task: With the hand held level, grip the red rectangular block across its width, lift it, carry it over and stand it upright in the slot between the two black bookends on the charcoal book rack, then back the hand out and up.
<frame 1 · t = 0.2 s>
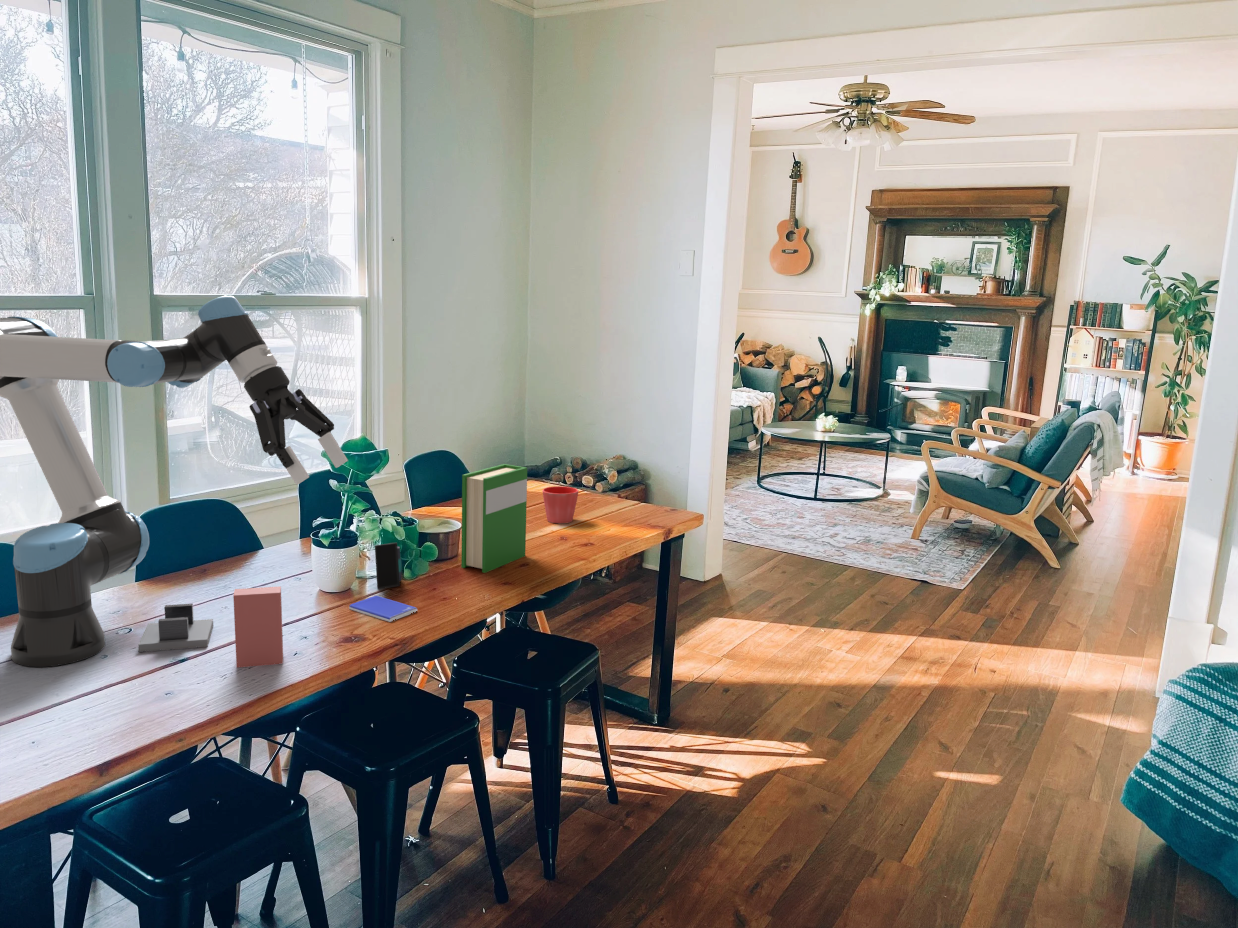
hand: (323, 472, 172), 36 cm above the table, tool tilted 35°, fingers open, 13 cm apart
speaker: (386, 583, 219), on the table
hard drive: (383, 613, 202), on the table
book rack: (177, 638, 182), on the table
flower pot: (559, 521, 282), on the table
hardback book: (494, 562, 239), on the table
red rectangular block: (260, 661, 173), on the table
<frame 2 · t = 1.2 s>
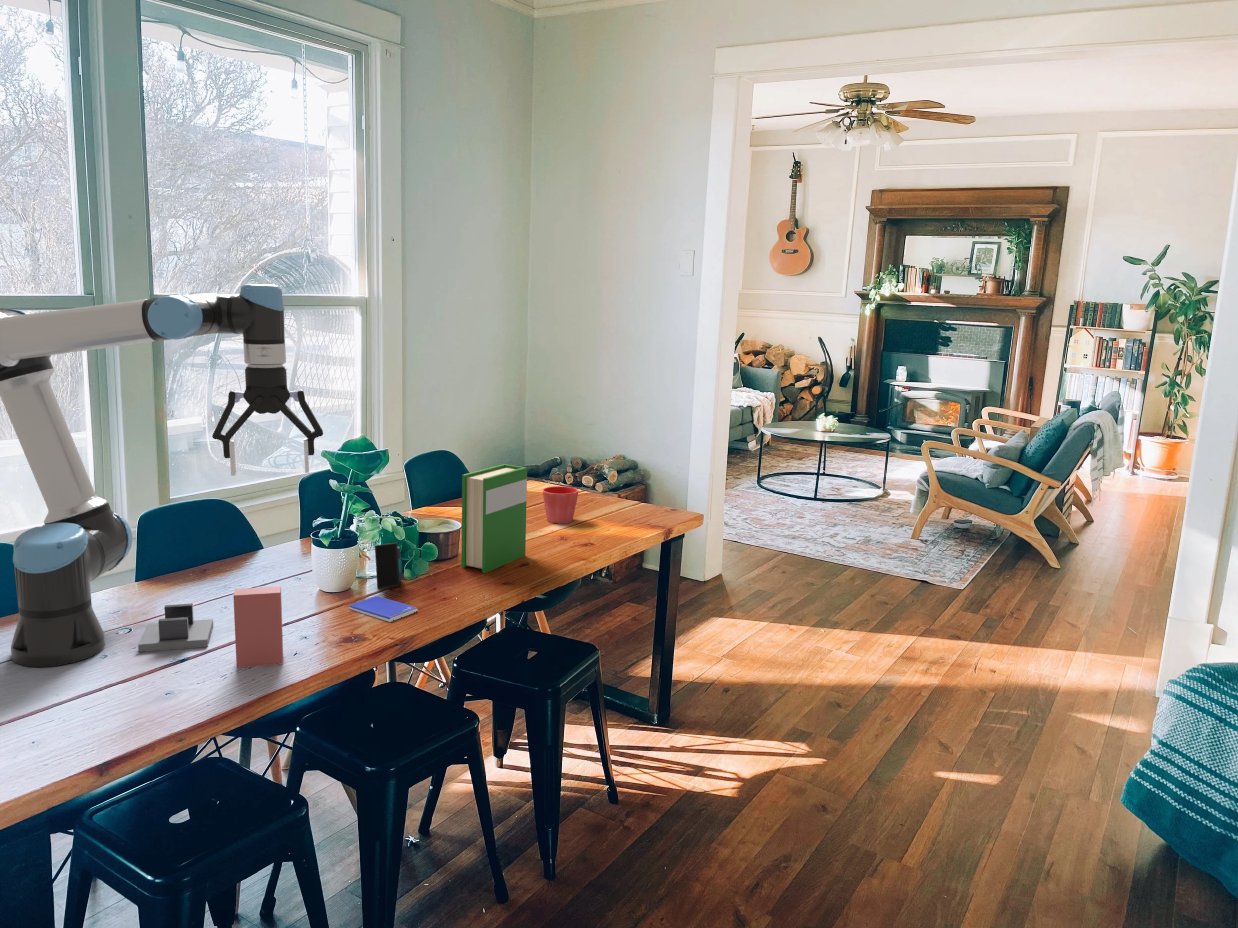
hand: (270, 473, 182), 33 cm above the table, tool pointing down, fingers open, 13 cm apart
nothing on the table moved.
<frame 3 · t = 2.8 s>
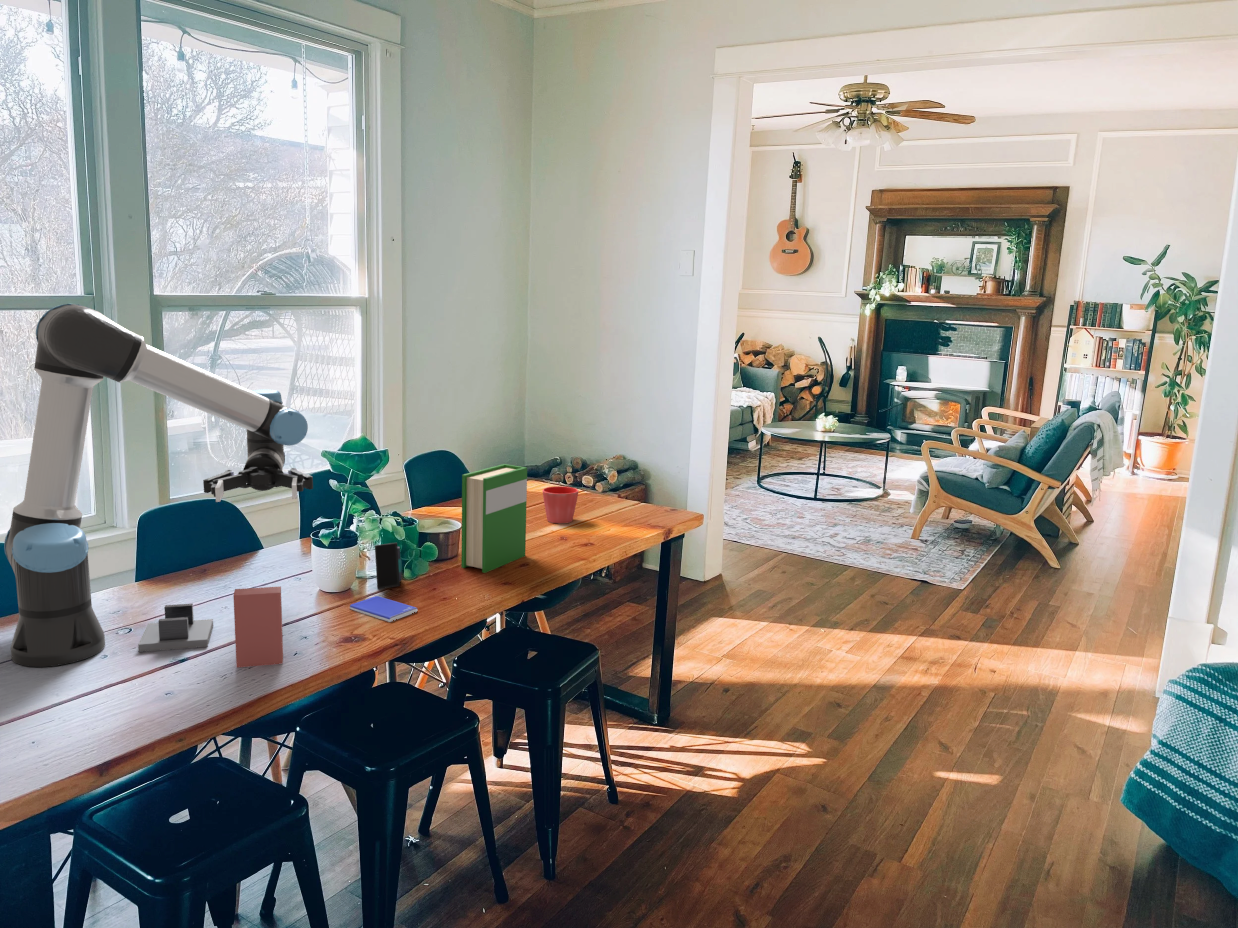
hand: (256, 493, 175), 30 cm above the table, tool horizontal, fingers open, 13 cm apart
nothing on the table moved.
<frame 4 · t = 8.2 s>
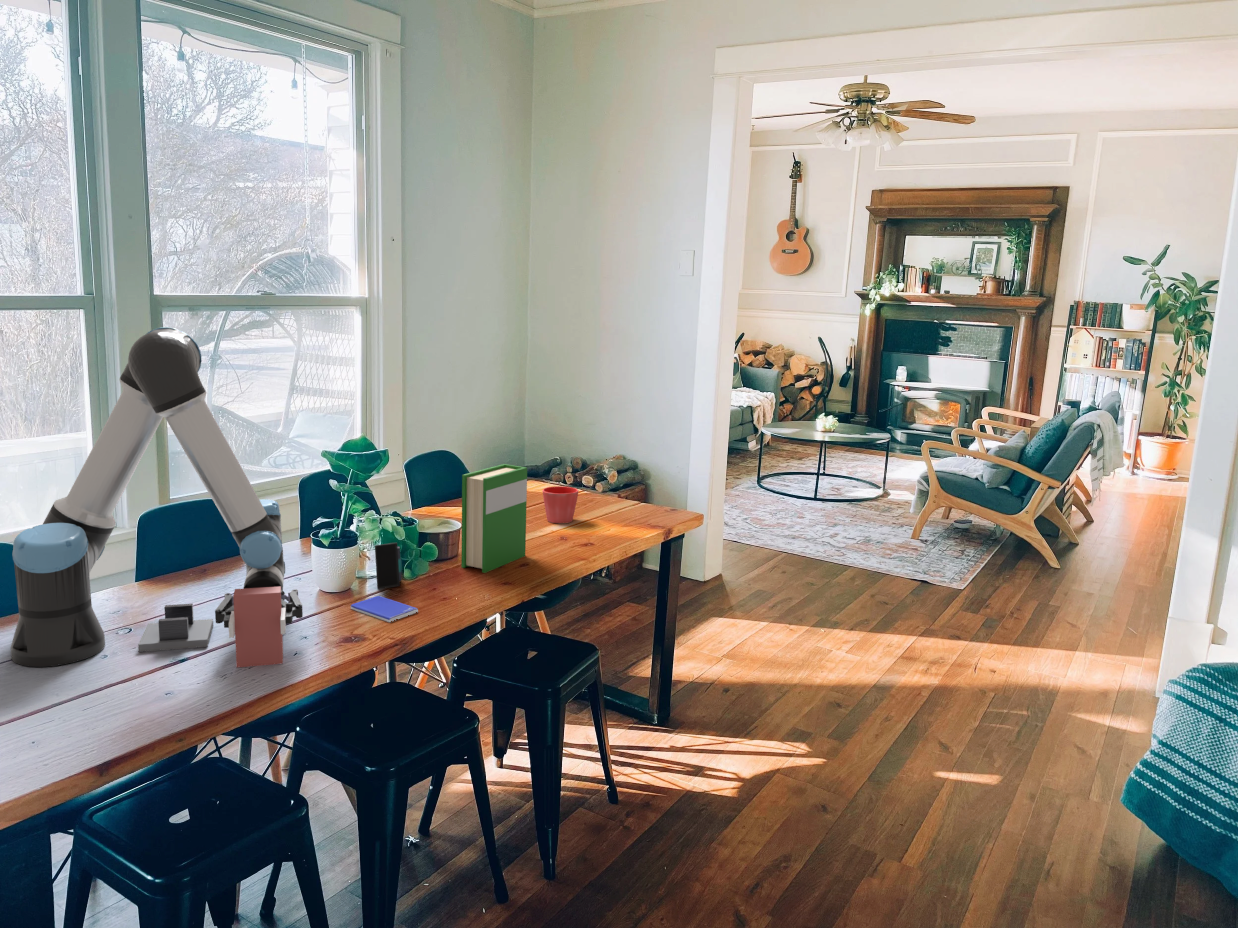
hand: (257, 628, 167), 8 cm above the table, tool horizontal, fingers closed on red rectangular block, 8 cm apart
red rectangular block: (260, 661, 173), on the table, touching gripper
everything else where it was.
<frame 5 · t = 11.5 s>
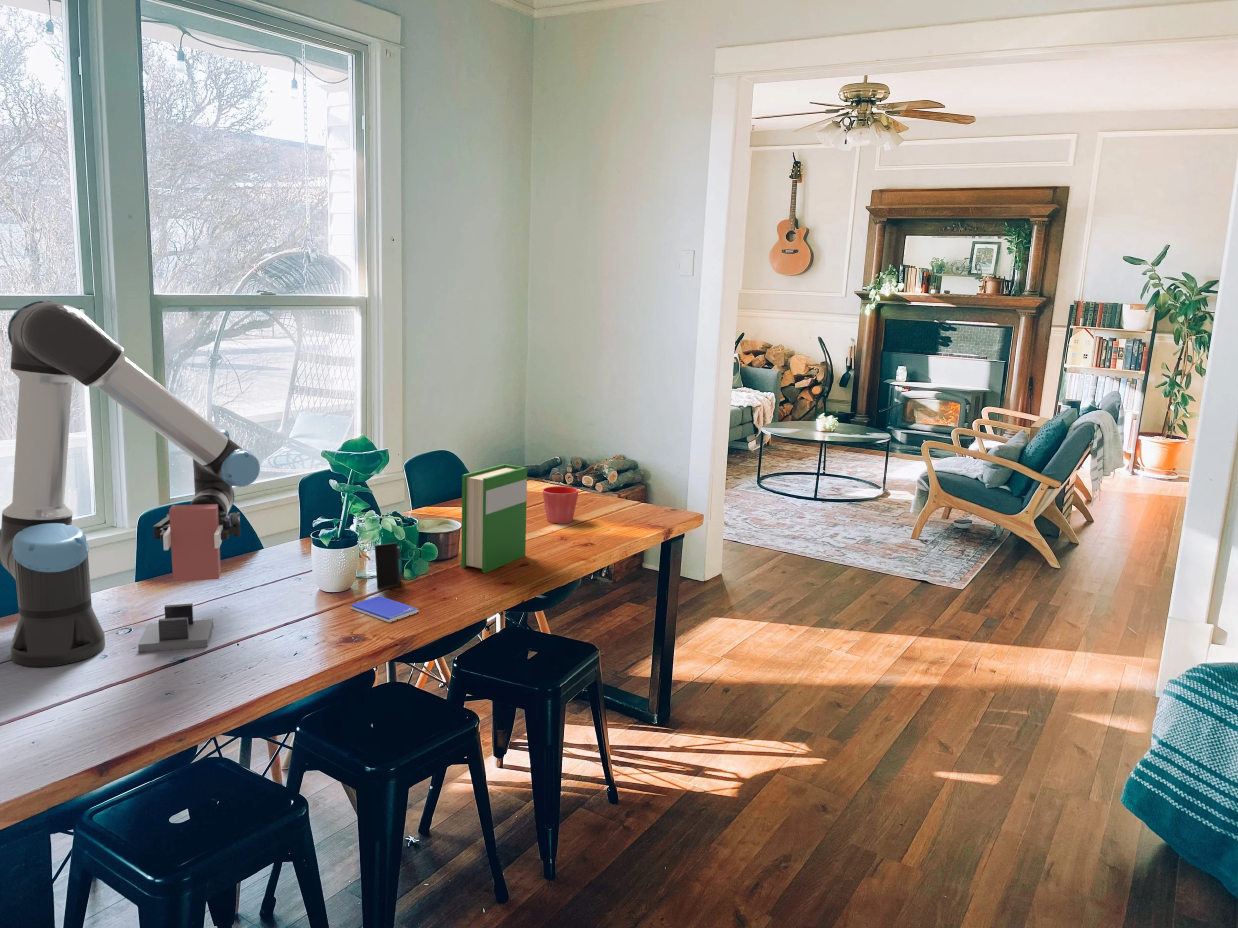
hand: (191, 542, 171), 22 cm above the table, tool horizontal, fingers closed on red rectangular block, 8 cm apart
red rectangular block: (197, 577, 178), point 13 cm above the table, touching gripper
everything else where it was.
when the fingers open (11 cm above the table, at t = 15.0 s): red rectangular block drops 1 cm, resting on book rack.
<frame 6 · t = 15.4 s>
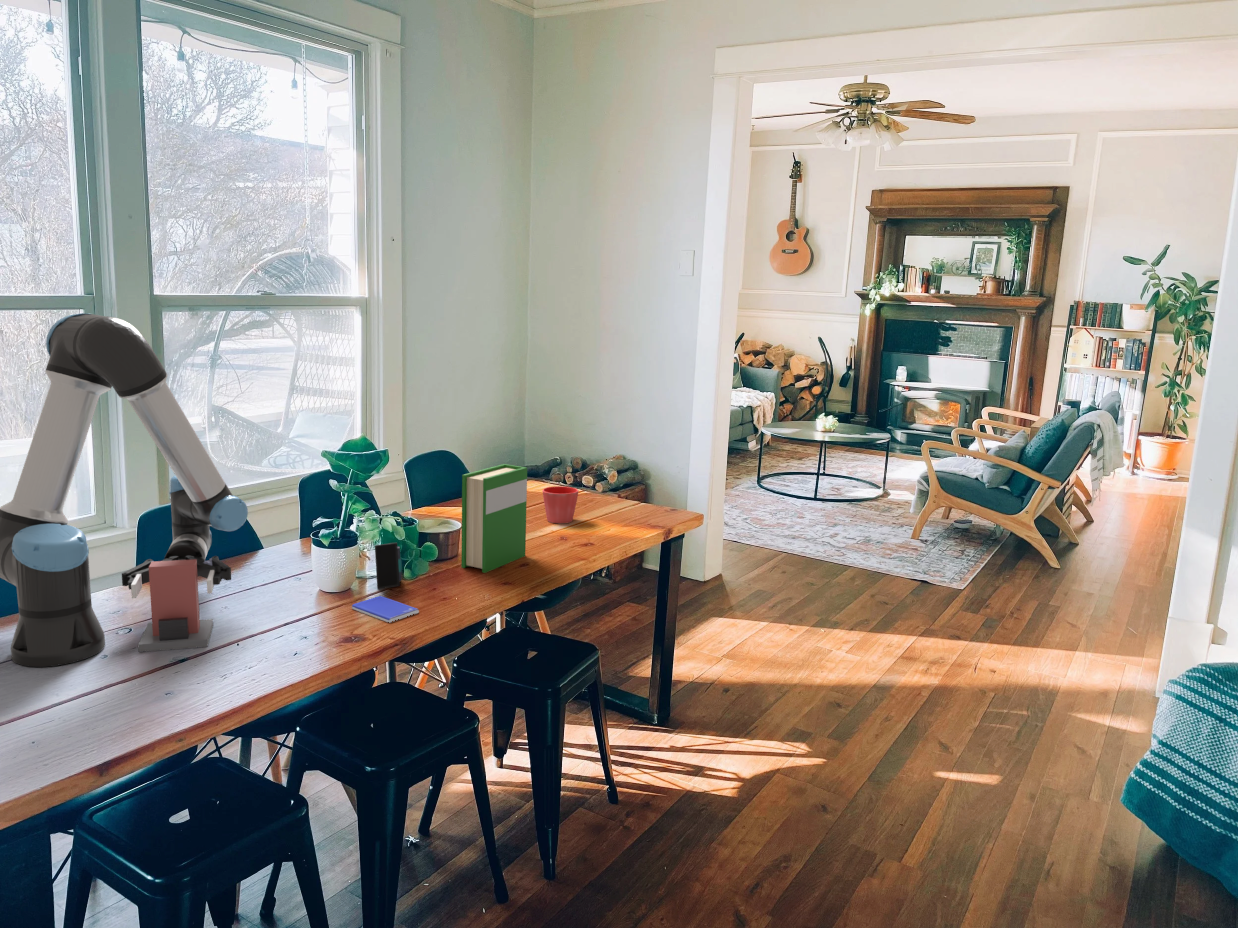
hand: (171, 589, 176), 11 cm above the table, tool horizontal, fingers open, 12 cm apart
red rectangular block: (176, 631, 182), point 1 cm above the table, touching book rack
everything else where it was.
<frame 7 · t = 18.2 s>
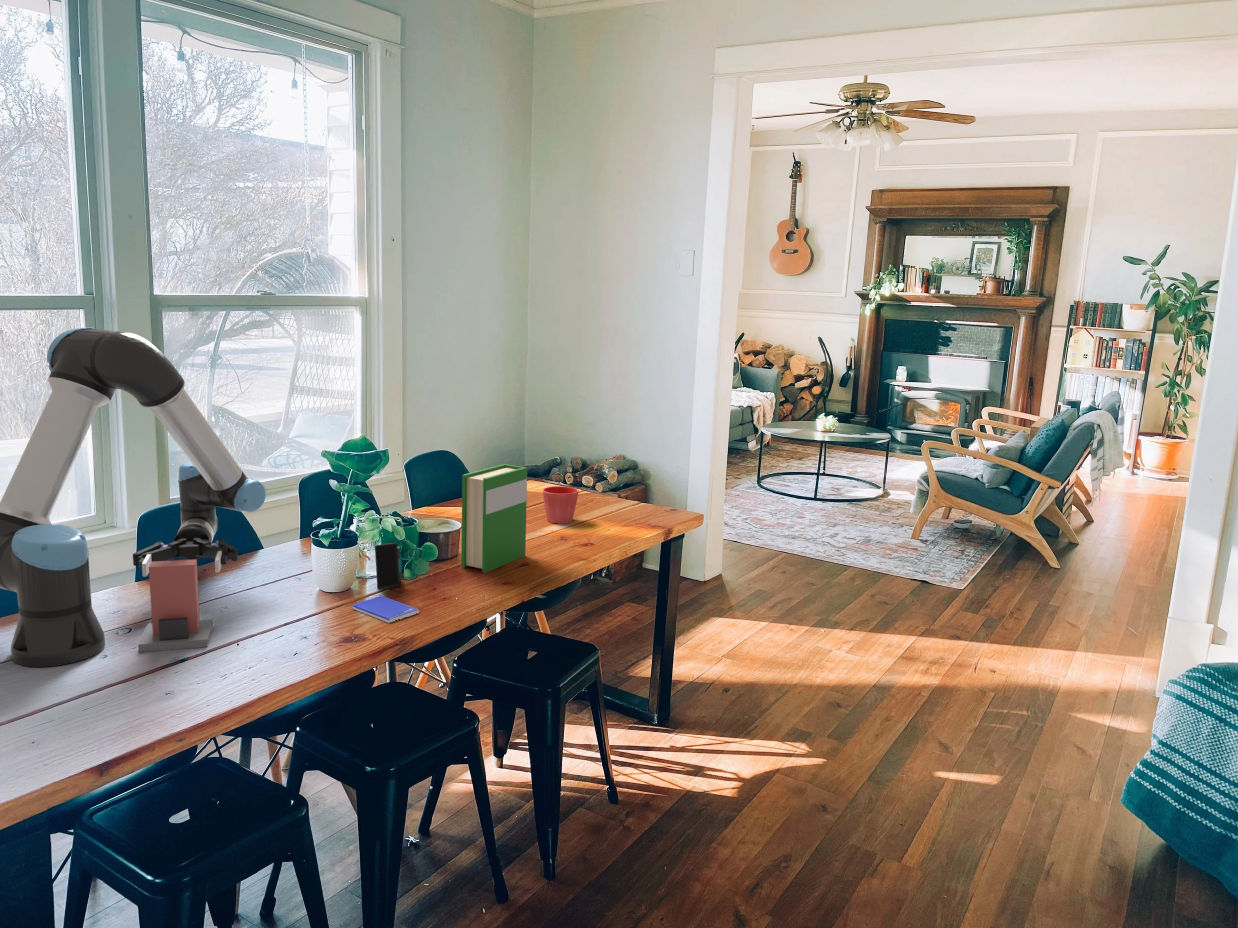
hand: (181, 568, 188), 11 cm above the table, tool horizontal, fingers open, 13 cm apart
nothing on the table moved.
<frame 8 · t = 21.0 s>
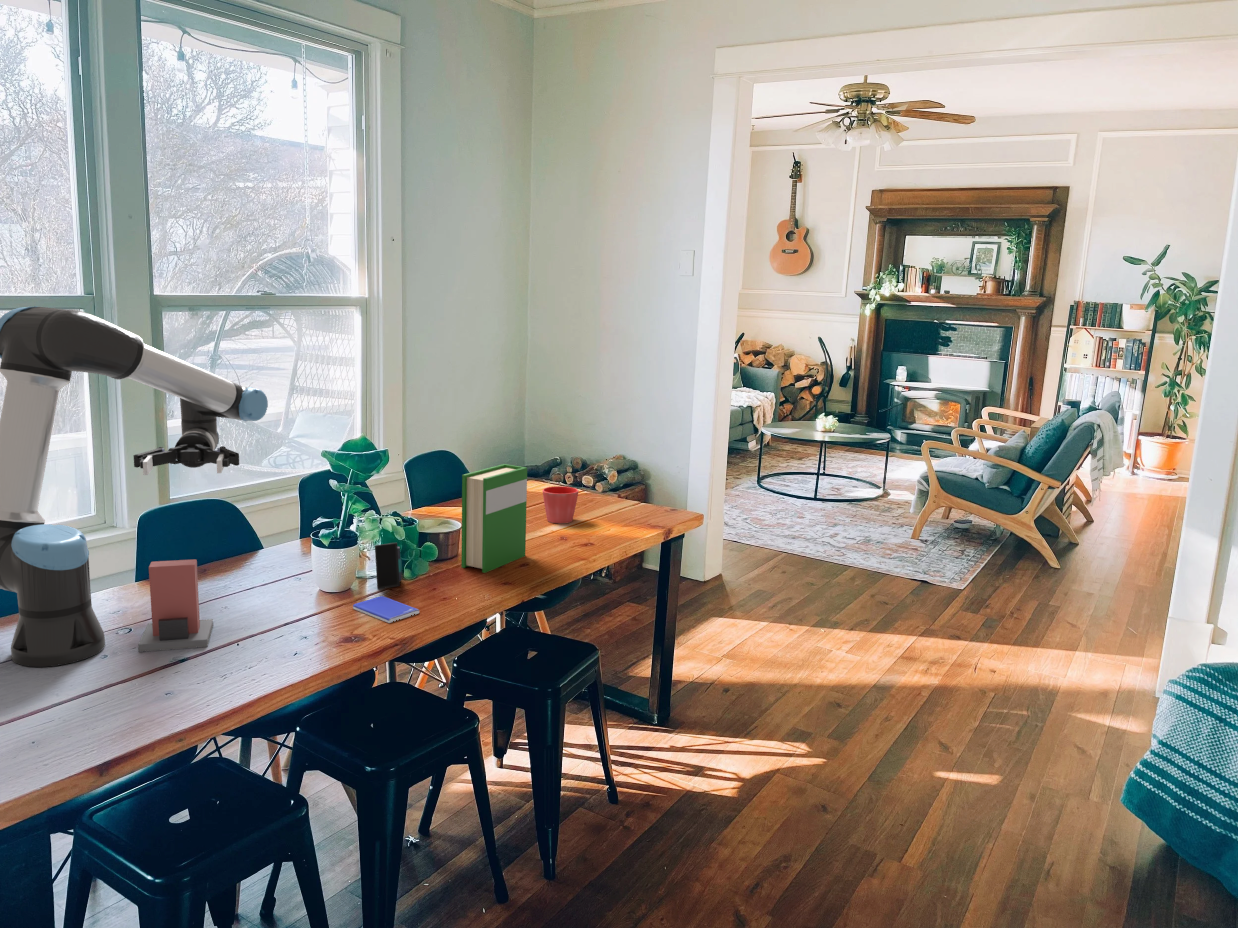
hand: (182, 467, 187), 32 cm above the table, tool horizontal, fingers open, 13 cm apart
nothing on the table moved.
at the end: red rectangular block 0.1 cm off-centre on the book rack, point 1.5 cm above the book rack's base; red rectangular block tilted 0°; the gripper is holding nothing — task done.
